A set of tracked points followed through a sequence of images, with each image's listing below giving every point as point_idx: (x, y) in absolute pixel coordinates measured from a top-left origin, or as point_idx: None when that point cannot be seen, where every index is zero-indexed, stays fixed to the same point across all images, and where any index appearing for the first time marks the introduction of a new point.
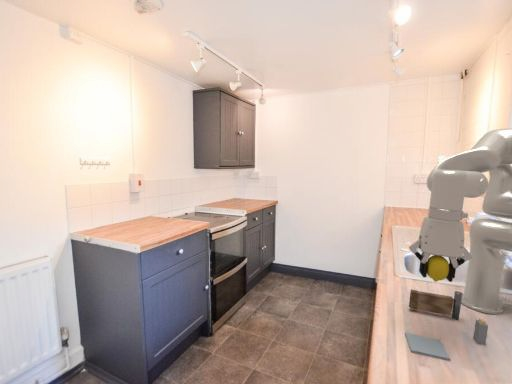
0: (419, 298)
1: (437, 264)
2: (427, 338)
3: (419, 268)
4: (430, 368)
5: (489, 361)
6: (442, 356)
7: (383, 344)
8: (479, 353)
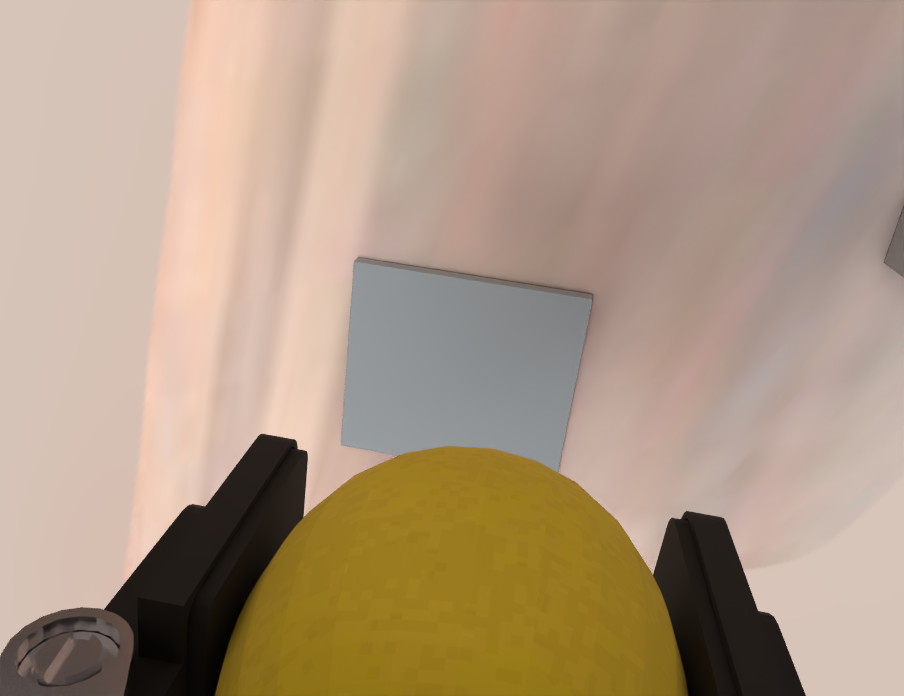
0: None
1: None
2: (496, 307)
3: (171, 530)
4: None
5: (824, 438)
6: None
7: (195, 398)
8: (815, 371)
